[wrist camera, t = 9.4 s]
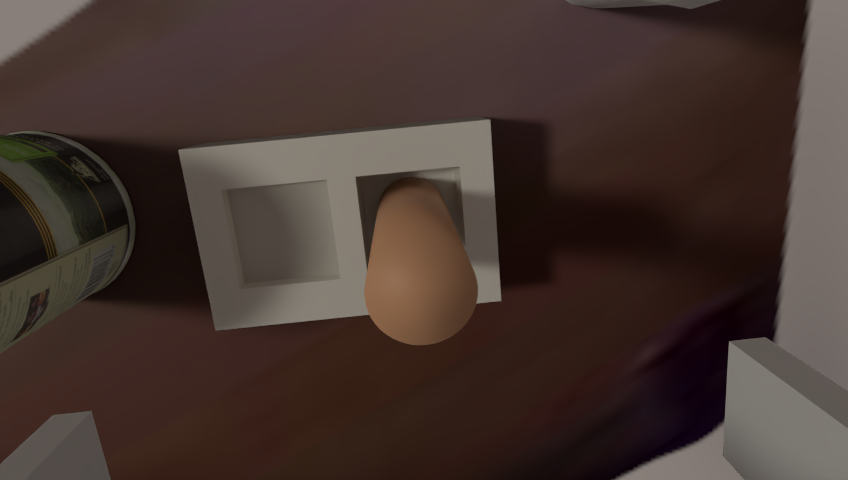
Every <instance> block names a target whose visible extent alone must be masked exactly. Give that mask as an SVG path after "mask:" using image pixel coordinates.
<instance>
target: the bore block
mask: <svg viewBox="0 0 848 480" xmlns="http://www.w3.org/2000/svg"><path fill="white" fill-rule="evenodd" d="M178 152H179V157H180V161H181V166H182V171H183V176H184V181H185V186H186V190H187V195H188V200H189V205H190V210H191V214H192V219H193V224H194V229H195V234H196V239H197V243H198V248H199V253H200V258H201V263H202V268H203V272H204V277H205V282H206V287H207V292H208V297H209V301H210V306H211V311H212V316H213V321H214V325H215V330H226V329H236V328H245V327H255V326H264V325H274V324H284V323H293V322H303V321H312V320H322V319H332V318H341V317H351V316H360V315H369V313H368V310H367V307H366V303H365V297H364V288H365V281H366V275H367V269H368V263H369V257H370V251H371V245H372V240H373V234H374V228H375V222H376V216H377V210H378V204H379V200H380V197H381V195H382V193H383V192H384V190H385V189H386V188H387V187H388V186H389V185H390V184H391V183H393V182H394V181H396V180H398V179H401V178H405V177H418V178H422V179H425V180H427V181H429V182H430V183H432V184H433V185H434V186H435V187H436V188H437V189H438V190H439V192H440V193H441V195H442V197H443V200H444V202H445V204H446V207H447V209H448V211H449V214H450V216H451V218H452V221H453V223H454V225H455V228H456V230H457V232H458V235H459V237H460V239H461V242H462V244H463V246H464V249H465V251H466V253H467V256H468V258H469V260H470V263H471V265H472V268H473V270H474V272H475V275H476V279H477V284H478V297H477V303H485V302H495V301H501V290H500V273H499V257H498V240H497V223H496V207H495V190H494V173H493V157H492V140H491V123H490V119H486V118H482V117H471V118H460V119H450V120H440V121H429V122H419V123H409V124H399V125H388V126H378V127H368V128H357V129H347V130H337V131H326V132H316V133H306V134H295V135H285V136H275V137H265V138H254V139H244V140H234V141H223V142H213V143H204V144H200V145H196V146H192V147H188V148H183V149H179V150H178Z"/></svg>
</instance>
